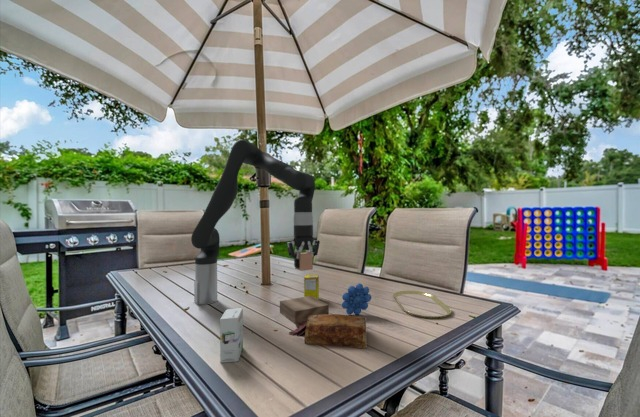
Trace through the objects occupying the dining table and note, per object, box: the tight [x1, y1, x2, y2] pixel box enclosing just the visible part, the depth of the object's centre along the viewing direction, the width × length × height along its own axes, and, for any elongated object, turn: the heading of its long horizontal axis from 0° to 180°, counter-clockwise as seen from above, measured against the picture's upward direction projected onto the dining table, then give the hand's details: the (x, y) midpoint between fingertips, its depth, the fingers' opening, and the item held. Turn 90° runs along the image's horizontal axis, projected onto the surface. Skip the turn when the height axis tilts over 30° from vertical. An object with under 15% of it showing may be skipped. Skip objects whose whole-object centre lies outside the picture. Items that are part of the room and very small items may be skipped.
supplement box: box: [303, 274, 320, 300], centre depth 134 cm, size 6×6×11 cm
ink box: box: [219, 307, 244, 364], centre depth 83 cm, size 8×5×12 cm, turn 6°
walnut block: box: [279, 296, 330, 325], centre depth 115 cm, size 14×14×5 cm
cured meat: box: [288, 313, 367, 349], centre depth 97 cm, size 18×25×7 cm
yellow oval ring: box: [392, 290, 452, 320], centre depth 127 cm, size 19×35×2 cm, turn 178°
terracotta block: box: [294, 251, 314, 272], centre depth 116 cm, size 5×5×6 cm
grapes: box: [341, 283, 372, 316], centre depth 115 cm, size 12×7×12 cm, turn 95°
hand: (303, 267), depth 116 cm, fingers closed on terracotta block, 5 cm apart
